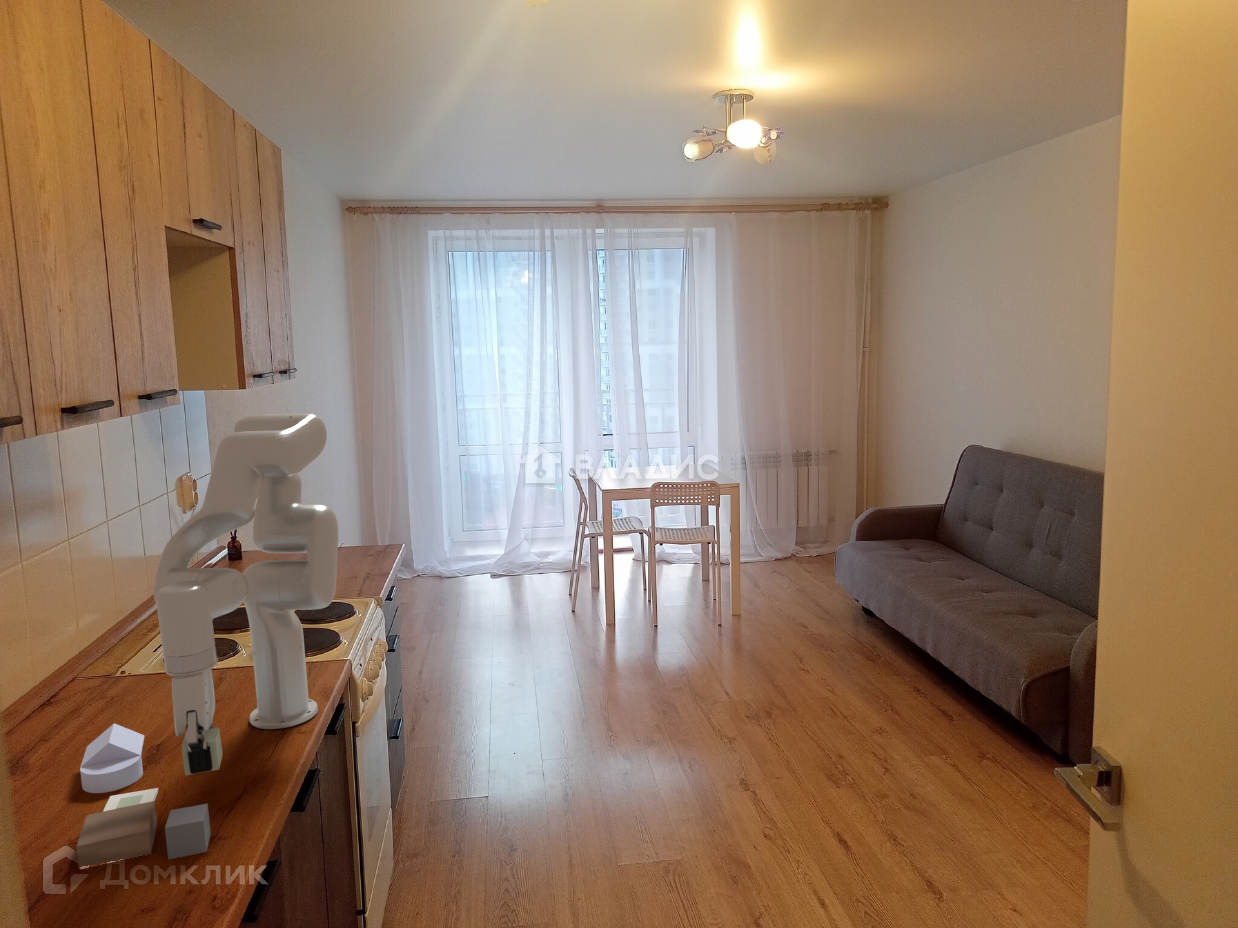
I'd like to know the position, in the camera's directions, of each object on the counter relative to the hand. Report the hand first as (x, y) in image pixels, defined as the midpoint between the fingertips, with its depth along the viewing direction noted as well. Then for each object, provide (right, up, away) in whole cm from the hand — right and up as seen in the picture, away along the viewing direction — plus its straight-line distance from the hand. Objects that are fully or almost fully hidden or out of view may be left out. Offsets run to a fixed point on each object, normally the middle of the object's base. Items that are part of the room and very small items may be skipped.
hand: (203, 761), depth 141 cm
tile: (-11, -6, -3) cm, 13 cm away
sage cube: (0, -1, 0) cm, 1 cm away
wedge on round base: (-19, -5, +8) cm, 22 cm away
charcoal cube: (+5, -8, -14) cm, 17 cm away
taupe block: (-6, -8, -13) cm, 17 cm away
